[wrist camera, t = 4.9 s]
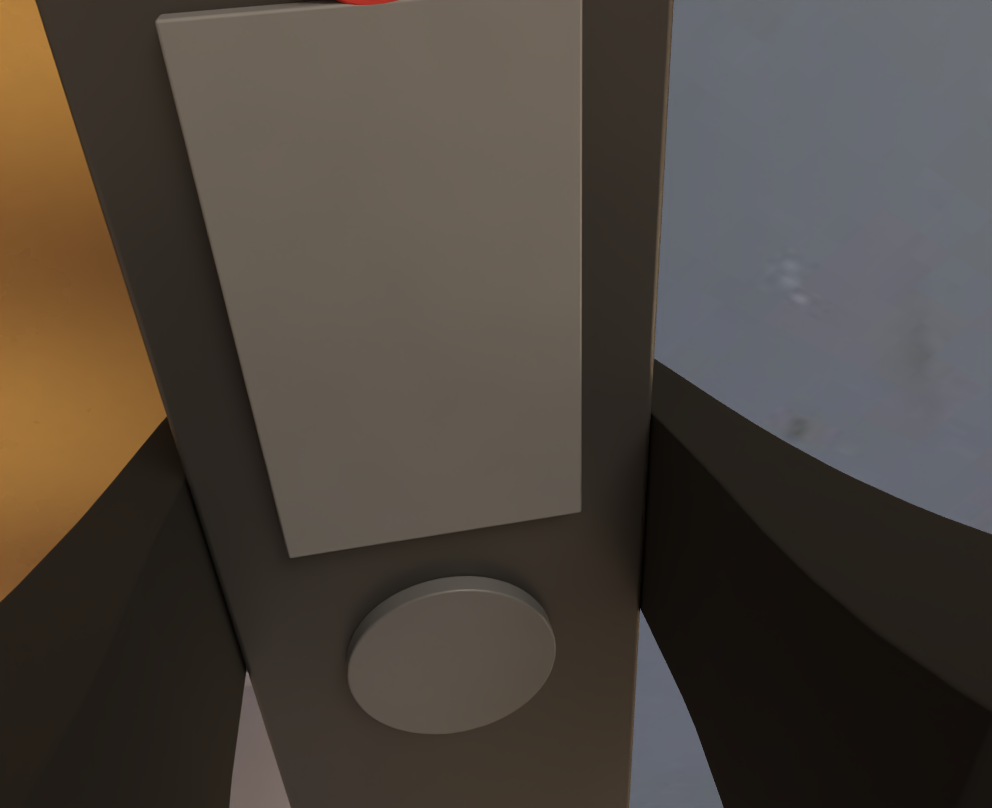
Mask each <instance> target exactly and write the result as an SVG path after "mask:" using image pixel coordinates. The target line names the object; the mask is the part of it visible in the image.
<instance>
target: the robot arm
mask: <svg viewBox="0 0 992 808" xmlns="http://www.w3.org/2000/svg"><path fill="white" fill-rule="evenodd" d="M640 608H641V610H642V613H643V615H644V617H645V619H646V621H647V623H648V625H649V627H650V629H651V631H652V633H653V636H654V638H655V640H656V642H657V644H658V646H659V648H660V650H661V652H662V654H663V657H664V659H665V661H666V663H667V665H668V667H669V669H670V671H671V673H672V675H673V678H674V680H675V682H676V684H677V686H678V688H679V690H680V692H681V694H682V697H683V699H684V701H685V704H686V706H687V709H688V711H689V713H690V716H691V718H692V720H693V723H694V725H695V728H696V730H697V733H698V736H699V739H700V742H701V744H702V747H703V750H704V753H705V756H706V759H707V761H708V764H709V767H710V770H711V773H712V776H713V778H714V781H715V784H716V787H717V790H718V792H719V795H720V798H721V801H722V804H723V807H724V808H992V534H989V533H986V532H983V531H981V530H978V529H975V528H972V527H970V526H967V525H964V524H961V523H959V522H956V521H953V520H950V519H948V518H945V517H942V516H940V515H937V514H935V513H932V512H930V511H927V510H925V509H922V508H920V507H917V506H915V505H913V504H910V503H908V502H906V501H903V500H901V499H899V498H897V497H895V496H892V495H890V494H888V493H886V492H884V491H881V490H879V489H877V488H875V487H872V486H870V485H868V484H866V483H864V482H861V481H859V480H857V479H855V478H853V477H851V476H849V475H847V474H845V473H843V472H841V471H839V470H837V469H835V468H833V467H831V466H829V465H827V464H825V463H823V462H821V461H820V460H818V459H816V458H814V457H812V456H810V455H809V454H807V453H805V452H803V451H801V450H799V449H798V448H796V447H794V446H792V445H790V444H788V443H786V442H785V441H783V440H781V439H780V438H778V437H776V436H774V435H773V434H771V433H769V432H768V431H766V430H764V429H763V428H761V427H759V426H758V425H756V424H754V423H753V422H751V421H749V420H748V419H746V418H745V417H743V416H741V415H740V414H738V413H737V412H735V411H733V410H732V409H730V408H729V407H727V406H726V405H724V404H722V403H721V402H719V401H718V400H716V399H715V398H713V397H712V396H710V395H709V394H707V393H706V392H704V391H702V390H701V389H699V388H698V387H696V386H695V385H693V384H692V383H690V382H689V381H687V380H686V379H684V378H683V377H681V376H680V375H678V374H677V373H675V372H674V371H672V370H671V369H669V368H668V367H666V366H665V365H663V364H662V363H660V362H658V361H657V360H655V359H654V365H653V383H652V401H651V419H650V437H649V456H648V474H647V492H646V510H645V528H644V546H643V564H642V583H641V601H640ZM0 808H291V807H290V804H289V801H288V798H287V794H286V791H285V788H284V785H283V782H282V779H281V775H280V772H279V769H278V766H277V763H276V760H275V756H274V753H273V750H272V747H271V744H270V741H269V738H268V734H267V731H266V728H265V725H264V722H263V719H262V715H261V712H260V709H259V706H258V703H257V700H256V696H255V693H254V690H253V687H252V684H251V681H250V678H249V674H248V671H247V668H246V665H245V662H244V659H243V655H242V652H241V649H240V646H239V643H238V640H237V636H236V633H235V630H234V627H233V624H232V621H231V618H230V614H229V611H228V608H227V605H226V602H225V599H224V595H223V592H222V589H221V586H220V583H219V580H218V576H217V573H216V570H215V567H214V564H213V561H212V558H211V554H210V551H209V548H208V545H207V542H206V539H205V535H204V532H203V529H202V526H201V523H200V520H199V516H198V513H197V510H196V507H195V504H194V501H193V498H192V494H191V491H190V488H189V485H188V482H187V479H186V475H185V472H184V469H183V466H182V463H181V460H180V456H179V453H178V450H177V447H176V444H175V441H174V438H173V434H172V431H171V428H170V425H169V422H168V419H167V417H166V418H165V419H164V420H163V421H162V422H161V423H160V425H159V426H158V427H157V428H156V429H155V431H154V432H153V433H152V434H151V435H150V437H149V438H148V439H147V440H146V441H145V443H144V444H143V445H142V446H141V447H140V449H139V450H138V451H137V452H136V454H135V455H134V456H133V457H132V458H131V460H130V461H129V462H128V463H127V465H126V466H125V467H124V468H123V469H122V471H121V472H120V473H119V474H118V475H117V477H116V478H115V479H114V480H113V482H112V483H111V484H110V485H109V486H108V487H107V489H106V490H105V491H104V492H103V493H102V495H101V496H100V497H99V498H98V499H97V500H96V502H95V503H94V504H93V505H92V506H91V507H90V508H89V510H88V511H87V512H86V513H85V514H84V515H83V517H82V518H81V519H80V520H79V521H78V522H77V523H76V525H75V526H74V527H73V528H72V529H71V530H70V531H69V532H68V533H67V534H66V535H65V536H64V537H63V538H62V539H61V540H60V541H59V542H58V543H57V545H56V546H55V547H54V548H53V549H52V550H51V551H50V552H49V553H48V554H47V555H46V556H45V557H44V558H43V559H42V560H41V561H40V562H39V563H38V564H37V566H36V567H35V568H34V569H33V570H32V571H31V572H30V573H29V574H28V575H27V576H26V577H25V578H24V579H23V580H22V581H21V582H20V583H19V584H18V585H17V586H16V587H15V588H14V589H13V590H12V591H11V592H10V593H9V594H8V595H7V596H6V597H5V598H4V599H3V600H2V601H1V602H0Z"/></svg>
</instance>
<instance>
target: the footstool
mask: <svg viewBox="0 0 992 808" xmlns="http://www.w3.org/2000/svg"><path fill="white" fill-rule="evenodd" d="M166 417H167V415H166V412H165V409H164V406H163V403H162V400H161V396H160V393H159V390H158V387H157V384H156V381H155V378H154V374H153V371H152V368H151V365H150V362H149V359H148V355H147V352H146V349H145V346H144V343H143V340H142V336H141V333H140V330H139V327H138V324H137V321H136V318H135V314H134V311H133V308H132V305H131V302H130V299H129V295H128V292H127V289H126V286H125V283H124V280H123V276H122V273H121V270H120V267H119V264H118V261H117V258H116V254H115V251H114V248H113V245H112V242H111V239H110V235H109V232H108V229H107V226H106V223H105V220H104V216H103V213H102V210H101V207H100V204H99V201H98V198H97V194H96V191H95V188H94V185H93V182H92V179H91V175H90V172H89V169H88V166H87V163H86V160H85V156H84V153H83V150H82V147H81V144H80V141H79V138H78V134H77V131H76V128H75V125H74V122H73V119H72V115H71V112H70V109H69V106H68V103H67V100H66V96H65V93H64V90H63V87H62V84H61V81H60V78H59V74H58V71H57V68H56V65H55V62H54V59H53V55H52V52H51V49H50V46H49V43H48V40H47V36H46V33H45V30H44V27H43V24H42V21H41V18H40V14H39V11H38V8H37V5H36V2H35V0H0V602H1V601H2V600H3V599H4V598H5V597H6V596H7V595H8V594H9V593H10V592H11V591H12V590H13V589H14V588H15V587H16V586H17V585H18V584H19V583H20V582H21V581H22V580H23V579H24V578H25V577H26V576H27V575H28V574H29V573H30V572H31V571H32V570H33V569H34V568H35V567H36V566H37V564H38V563H39V562H40V561H41V560H42V559H43V558H44V557H45V556H46V555H47V554H48V553H49V552H50V551H51V550H52V549H53V548H54V547H55V546H56V545H57V543H58V542H59V541H60V540H61V539H62V538H63V537H64V536H65V535H66V534H67V533H68V532H69V531H70V530H71V529H72V528H73V527H74V526H75V525H76V523H77V522H78V521H79V520H80V519H81V518H82V517H83V515H84V514H85V513H86V512H87V511H88V510H89V508H90V507H91V506H92V505H93V504H94V503H95V502H96V500H97V499H98V498H99V497H100V496H101V495H102V493H103V492H104V491H105V490H106V489H107V487H108V486H109V485H110V484H111V483H112V482H113V480H114V479H115V478H116V477H117V475H118V474H119V473H120V472H121V471H122V469H123V468H124V467H125V466H126V465H127V463H128V462H129V461H130V460H131V458H132V457H133V456H134V455H135V454H136V452H137V451H138V450H139V449H140V447H141V446H142V445H143V444H144V443H145V441H146V440H147V439H148V438H149V437H150V435H151V434H152V433H153V432H154V431H155V429H156V428H157V427H158V426H159V425H160V423H161V422H162V421H163V420H164V419H165V418H166Z"/></svg>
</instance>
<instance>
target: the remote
mask: <svg viewBox="0 0 992 808" xmlns="http://www.w3.org/2000/svg"><path fill="white" fill-rule="evenodd" d="M35 2H36V5H37V8H38V11H39V14H40V18H41V21H42V24H43V27H44V30H45V33H46V36H47V40H48V43H49V46H50V49H51V52H52V55H53V59H54V62H55V65H56V68H57V71H58V74H59V78H60V81H61V84H62V87H63V90H64V93H65V96H66V100H67V103H68V106H69V109H70V112H71V115H72V119H73V122H74V125H75V128H76V131H77V134H78V138H79V141H80V144H81V147H82V150H83V153H84V156H85V160H86V163H87V166H88V169H89V172H90V175H91V179H92V182H93V185H94V188H95V191H96V194H97V198H98V201H99V204H100V207H101V210H102V213H103V216H104V220H105V223H106V226H107V229H108V232H109V235H110V239H111V242H112V245H113V248H114V251H115V254H116V258H117V261H118V264H119V267H120V270H121V273H122V276H123V280H124V283H125V286H126V289H127V292H128V295H129V299H130V302H131V305H132V308H133V311H134V314H135V318H136V321H137V324H138V327H139V330H140V333H141V336H142V340H143V343H144V346H145V349H146V352H147V355H148V359H149V362H150V365H151V368H152V371H153V374H154V378H155V381H156V384H157V387H158V390H159V393H160V396H161V400H162V403H163V406H164V409H165V412H166V415H167V419H168V422H169V425H170V428H171V431H172V434H173V438H174V441H175V444H176V447H177V450H178V453H179V456H180V460H181V463H182V466H183V469H184V472H185V475H186V479H187V482H188V485H189V488H190V491H191V494H192V498H193V501H194V504H195V507H196V510H197V513H198V516H199V520H200V523H201V526H202V529H203V532H204V535H205V539H206V542H207V545H208V548H209V551H210V554H211V558H212V561H213V564H214V567H215V570H216V573H217V576H218V580H219V583H220V586H221V589H222V592H223V595H224V599H225V602H226V605H227V608H228V611H229V614H230V618H231V621H232V624H233V627H234V630H235V633H236V636H237V640H238V643H239V646H240V649H241V652H242V655H243V659H244V662H245V665H246V668H247V671H248V674H249V678H250V681H251V684H252V687H253V690H254V693H255V696H256V700H257V703H258V706H259V709H260V712H261V715H262V719H263V722H264V725H265V728H266V731H267V734H268V738H269V741H270V744H271V747H272V750H273V753H274V756H275V760H276V763H277V766H278V769H279V772H280V775H281V779H282V782H283V785H284V788H285V791H286V794H287V798H288V801H289V804H290V807H291V808H629V800H630V782H631V764H632V746H633V728H634V710H635V691H636V673H637V655H638V637H639V619H640V601H641V583H642V564H643V546H644V528H645V510H646V492H647V474H648V456H649V437H650V419H651V401H652V383H653V365H654V347H655V328H656V310H657V292H658V274H659V256H660V238H661V220H662V201H663V183H664V165H665V147H666V129H667V111H668V93H669V74H670V56H671V38H672V20H673V2H674V0H35Z"/></svg>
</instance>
